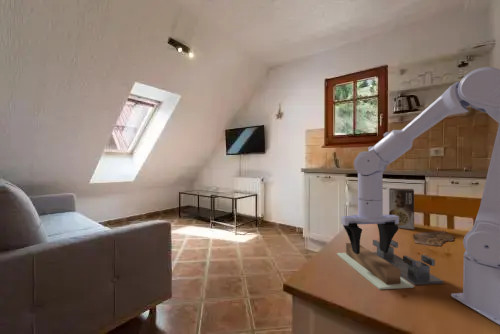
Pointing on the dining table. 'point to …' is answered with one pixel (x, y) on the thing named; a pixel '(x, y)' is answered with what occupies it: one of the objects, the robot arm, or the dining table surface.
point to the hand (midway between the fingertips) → (370, 252)
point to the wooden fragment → (433, 238)
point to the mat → (371, 277)
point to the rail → (375, 265)
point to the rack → (409, 265)
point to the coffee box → (402, 206)
